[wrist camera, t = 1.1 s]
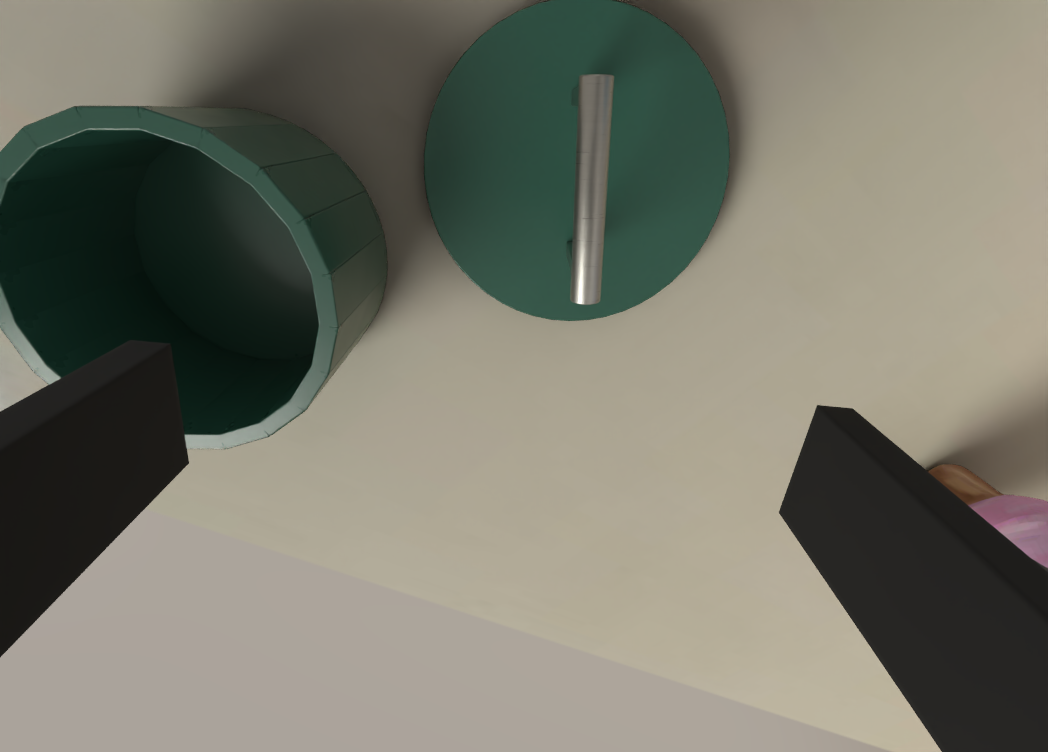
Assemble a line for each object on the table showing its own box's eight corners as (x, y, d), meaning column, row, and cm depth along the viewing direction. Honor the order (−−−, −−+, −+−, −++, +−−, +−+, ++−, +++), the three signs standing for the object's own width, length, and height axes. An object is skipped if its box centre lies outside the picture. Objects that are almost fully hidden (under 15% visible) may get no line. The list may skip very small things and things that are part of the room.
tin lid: (745, 1, 26) (850, -55, 17) (700, 315, 32) (762, 386, 24) (416, 0, 26) (361, -56, 17) (436, 313, 32) (403, 384, 24)
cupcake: (956, 414, 34) (1109, 522, 25) (1022, 496, 37) (1182, 621, 28) (831, 499, 37) (927, 623, 28) (899, 569, 40) (1009, 704, 31)
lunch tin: (373, 109, 28) (307, 106, 20) (398, 369, 34) (356, 450, 25) (90, 108, 28) (-94, 105, 20) (164, 367, 34) (47, 447, 25)
